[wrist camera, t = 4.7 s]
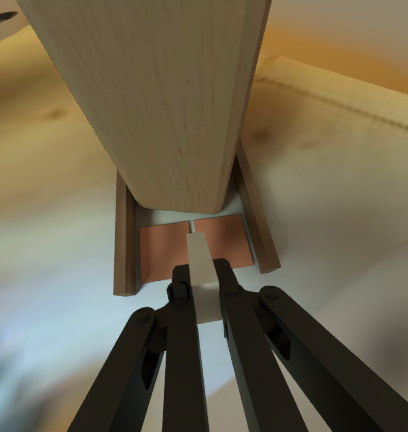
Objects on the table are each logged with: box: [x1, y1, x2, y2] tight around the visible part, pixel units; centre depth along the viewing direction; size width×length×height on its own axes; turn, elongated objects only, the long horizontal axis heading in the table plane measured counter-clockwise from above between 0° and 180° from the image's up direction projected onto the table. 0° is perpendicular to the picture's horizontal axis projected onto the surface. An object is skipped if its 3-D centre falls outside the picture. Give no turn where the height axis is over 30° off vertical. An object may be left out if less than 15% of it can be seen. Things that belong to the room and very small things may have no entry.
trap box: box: [113, 137, 281, 297], centre depth 25 cm, size 15×38×6 cm, turn 9°
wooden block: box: [16, 0, 272, 214], centre depth 16 cm, size 10×10×20 cm
